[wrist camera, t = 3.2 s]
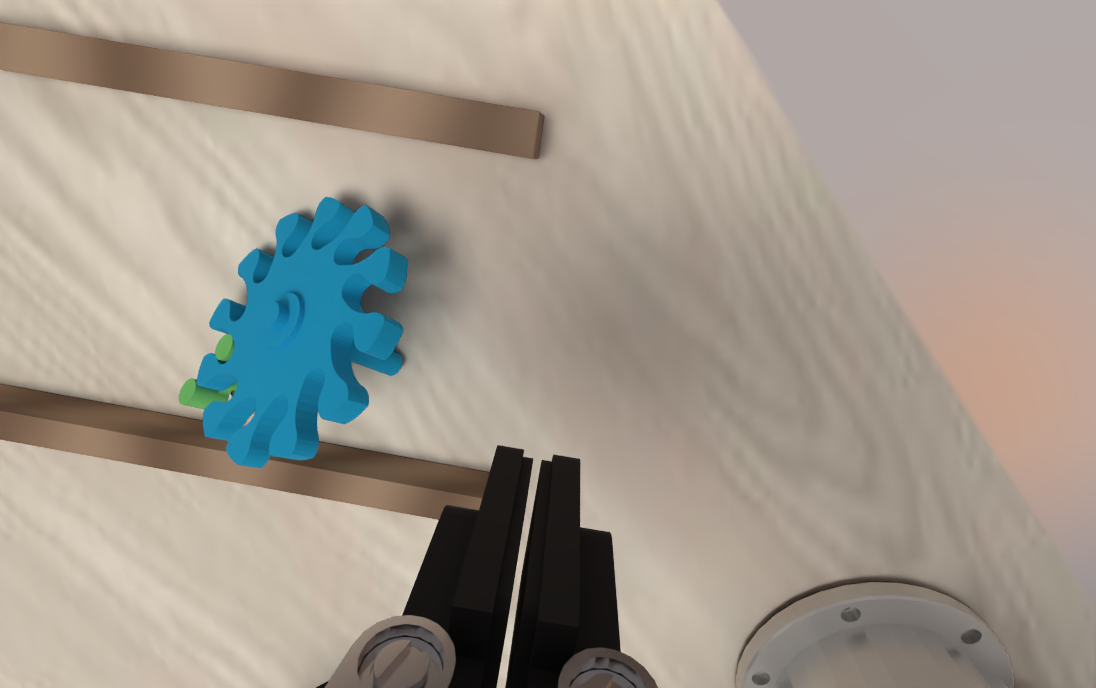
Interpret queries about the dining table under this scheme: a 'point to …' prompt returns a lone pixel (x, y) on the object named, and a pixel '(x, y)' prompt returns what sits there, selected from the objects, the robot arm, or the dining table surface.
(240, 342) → the gear
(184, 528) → the dining table surface
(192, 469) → the guide
